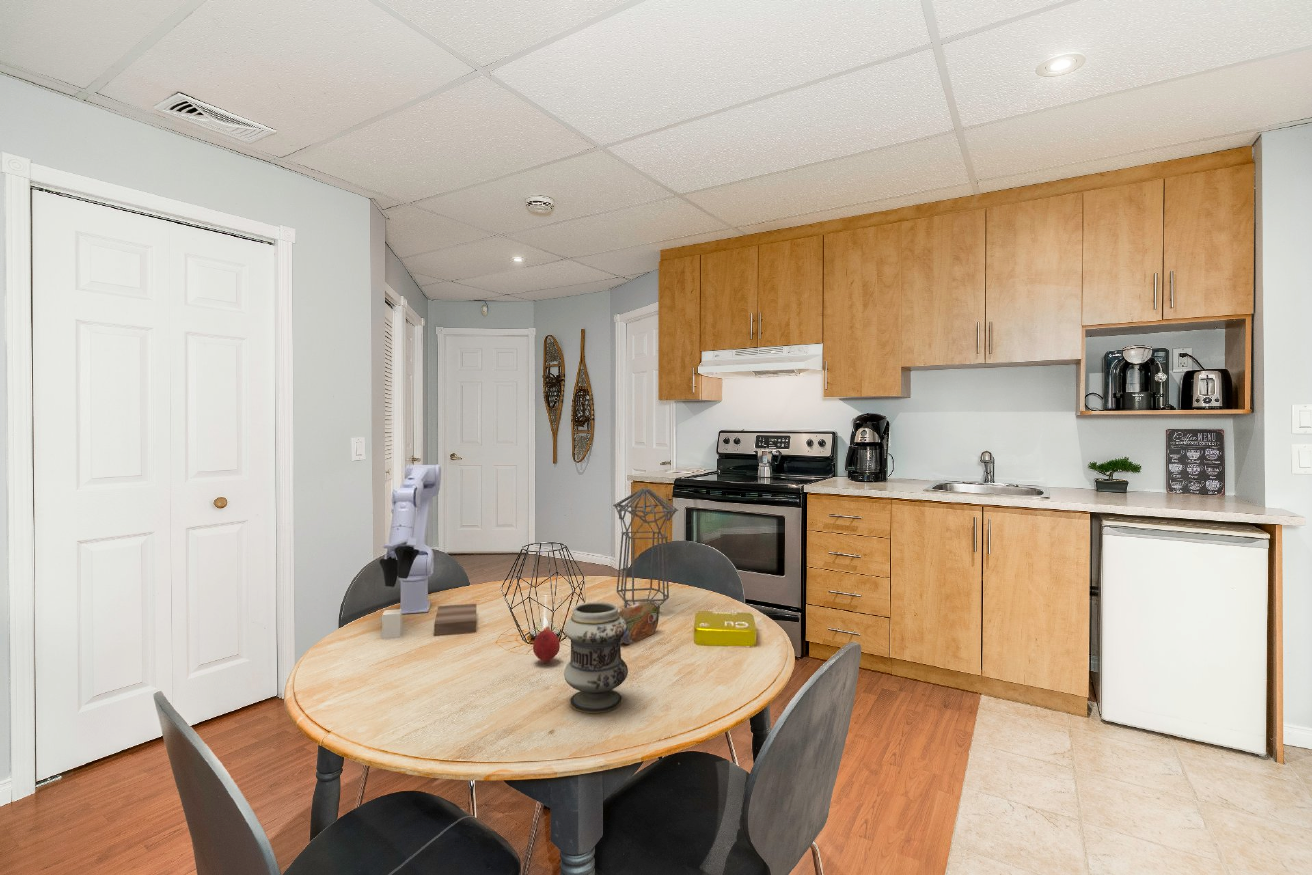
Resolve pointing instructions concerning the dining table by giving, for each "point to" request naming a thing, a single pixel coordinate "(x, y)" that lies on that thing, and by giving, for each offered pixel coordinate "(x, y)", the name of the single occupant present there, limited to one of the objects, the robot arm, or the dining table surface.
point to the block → (392, 624)
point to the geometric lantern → (669, 511)
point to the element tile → (724, 629)
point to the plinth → (455, 619)
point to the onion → (546, 645)
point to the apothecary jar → (595, 656)
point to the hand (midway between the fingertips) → (396, 582)
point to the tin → (639, 621)
